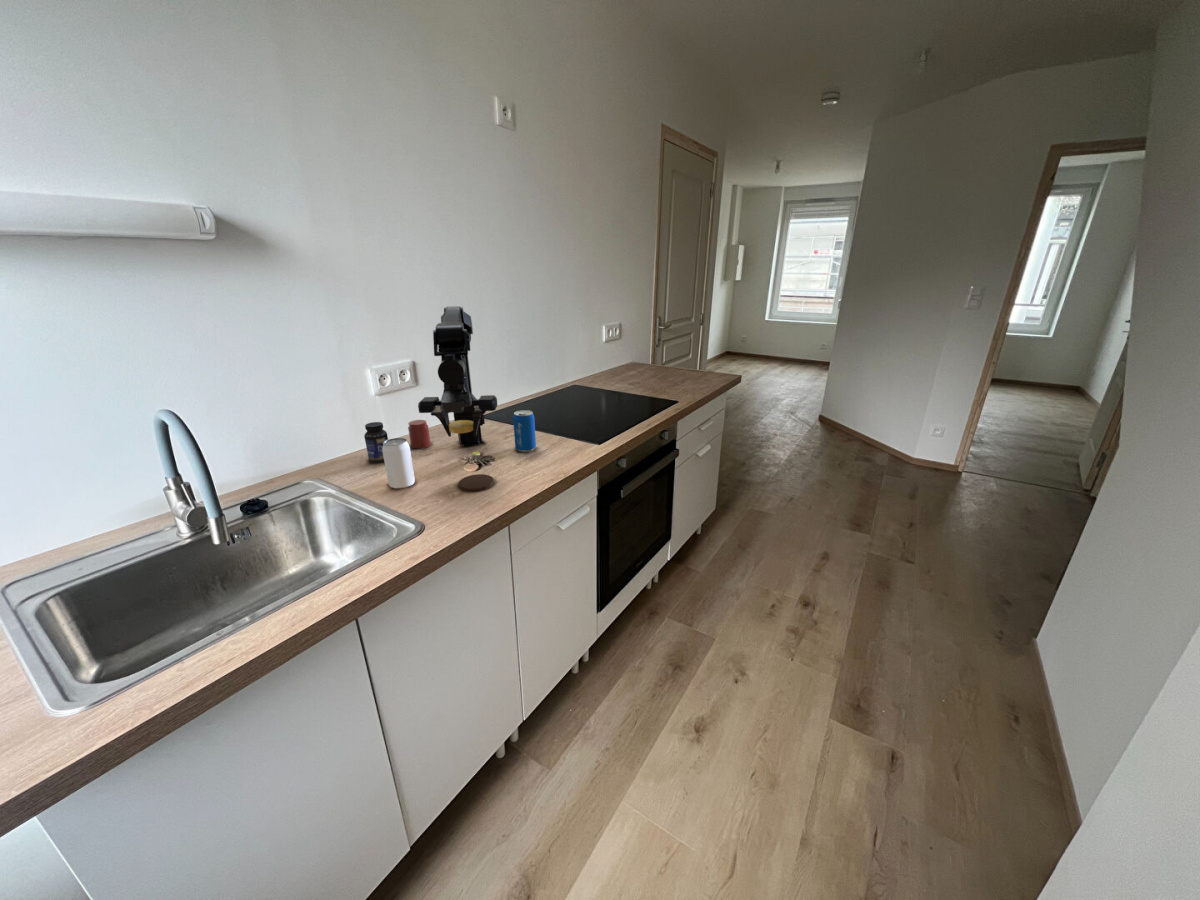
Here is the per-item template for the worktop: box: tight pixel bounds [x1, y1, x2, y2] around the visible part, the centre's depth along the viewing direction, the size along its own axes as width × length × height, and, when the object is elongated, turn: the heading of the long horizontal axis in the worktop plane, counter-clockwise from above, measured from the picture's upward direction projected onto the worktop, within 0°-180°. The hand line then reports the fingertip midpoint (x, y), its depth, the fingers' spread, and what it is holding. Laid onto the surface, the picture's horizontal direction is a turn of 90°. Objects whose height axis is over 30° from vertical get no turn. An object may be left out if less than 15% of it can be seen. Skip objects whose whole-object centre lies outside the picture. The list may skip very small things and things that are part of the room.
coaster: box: [457, 473, 495, 493], centre depth 119 cm, size 9×9×1 cm
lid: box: [449, 420, 473, 434], centre depth 117 cm, size 6×6×2 cm
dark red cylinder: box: [407, 419, 432, 450], centre depth 145 cm, size 6×6×8 cm
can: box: [382, 437, 416, 490], centre depth 117 cm, size 6×6×12 cm
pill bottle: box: [363, 421, 389, 463], centre depth 133 cm, size 6×6×11 cm
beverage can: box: [512, 409, 537, 453], centre depth 141 cm, size 6×6×12 cm
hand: (462, 435), depth 118 cm, fingers closed on lid, 6 cm apart
